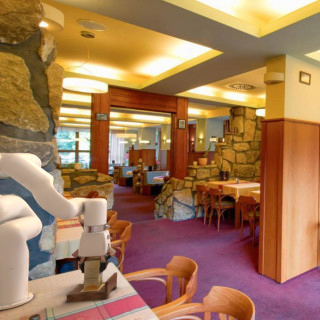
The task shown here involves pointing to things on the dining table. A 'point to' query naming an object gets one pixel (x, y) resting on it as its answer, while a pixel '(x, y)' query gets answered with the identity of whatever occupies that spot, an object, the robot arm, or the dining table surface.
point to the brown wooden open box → (93, 291)
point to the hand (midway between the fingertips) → (93, 271)
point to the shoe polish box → (92, 273)
